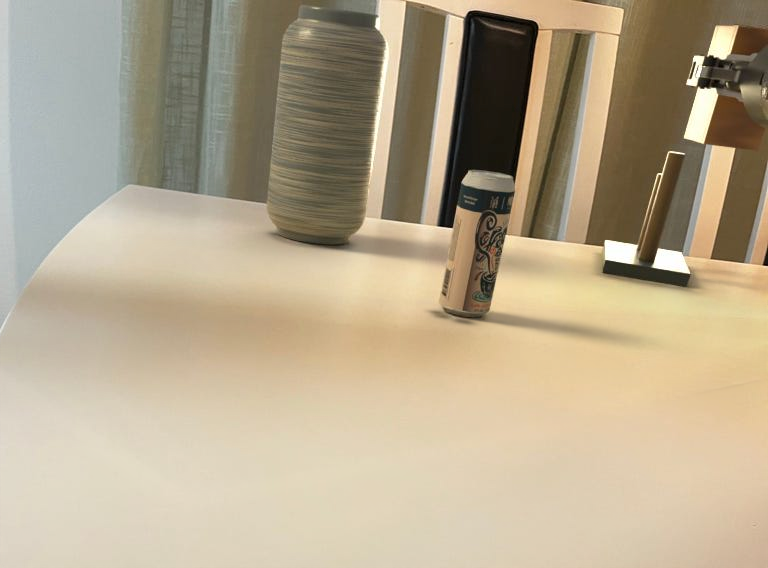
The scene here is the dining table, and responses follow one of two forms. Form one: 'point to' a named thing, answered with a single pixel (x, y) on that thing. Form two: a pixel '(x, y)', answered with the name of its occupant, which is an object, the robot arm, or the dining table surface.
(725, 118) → the sleeve
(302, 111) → the vase
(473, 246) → the drink can
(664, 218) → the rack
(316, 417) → the dining table surface
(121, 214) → the dining table surface
